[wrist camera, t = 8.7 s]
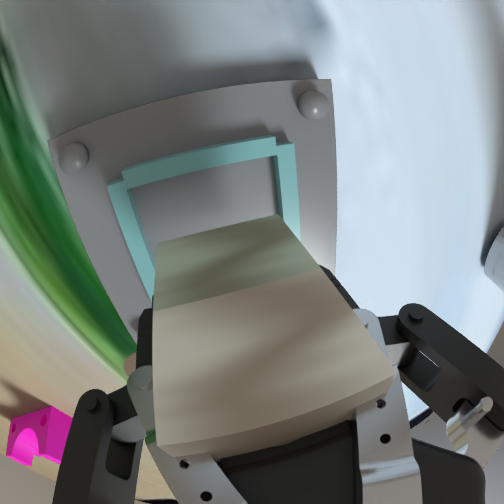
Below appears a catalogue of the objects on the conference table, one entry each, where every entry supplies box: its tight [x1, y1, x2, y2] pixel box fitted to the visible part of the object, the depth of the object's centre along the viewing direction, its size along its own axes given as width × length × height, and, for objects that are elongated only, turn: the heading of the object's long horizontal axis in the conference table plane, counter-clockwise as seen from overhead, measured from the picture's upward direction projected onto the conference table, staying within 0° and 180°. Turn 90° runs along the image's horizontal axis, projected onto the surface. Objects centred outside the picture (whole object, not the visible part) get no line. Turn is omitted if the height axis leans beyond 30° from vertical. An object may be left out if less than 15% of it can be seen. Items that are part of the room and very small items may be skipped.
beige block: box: [152, 214, 397, 468], centre depth 9 cm, size 5×5×8 cm
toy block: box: [6, 406, 73, 466], centre depth 23 cm, size 15×6×8 cm, turn 116°
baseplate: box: [48, 79, 337, 344], centre depth 17 cm, size 16×16×2 cm
